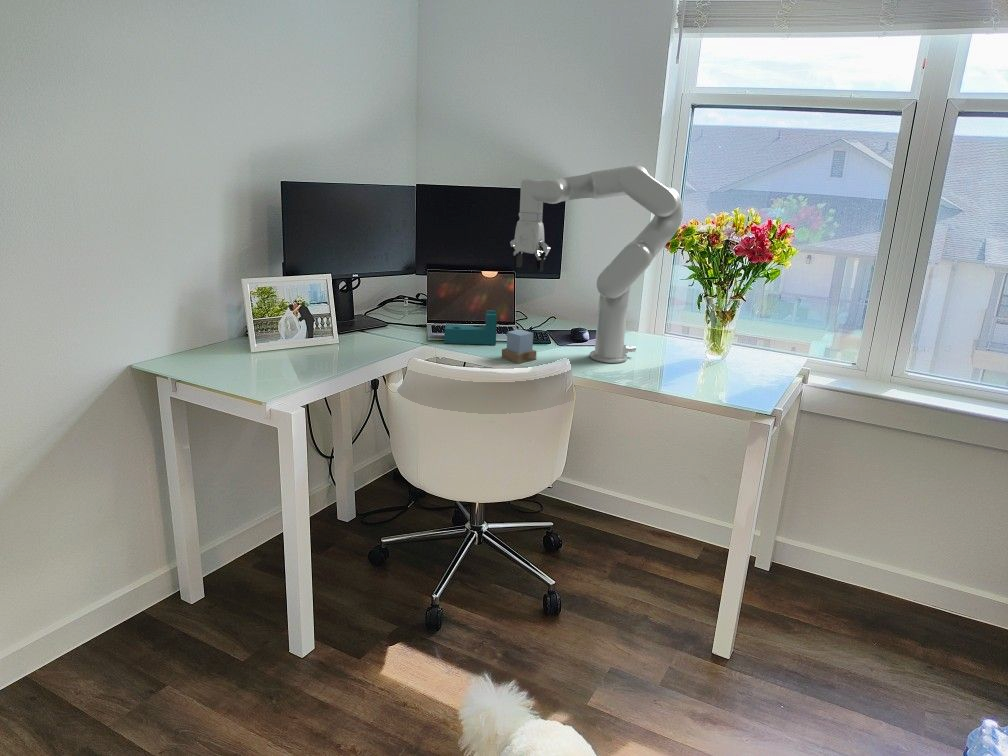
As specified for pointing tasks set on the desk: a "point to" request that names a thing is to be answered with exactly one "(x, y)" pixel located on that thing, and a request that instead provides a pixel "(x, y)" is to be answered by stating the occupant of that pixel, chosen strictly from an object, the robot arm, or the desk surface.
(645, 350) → the desk surface
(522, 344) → the blue cube
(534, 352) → the walnut base
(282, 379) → the desk surface
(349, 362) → the desk surface
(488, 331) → the teal l-shaped bracket
